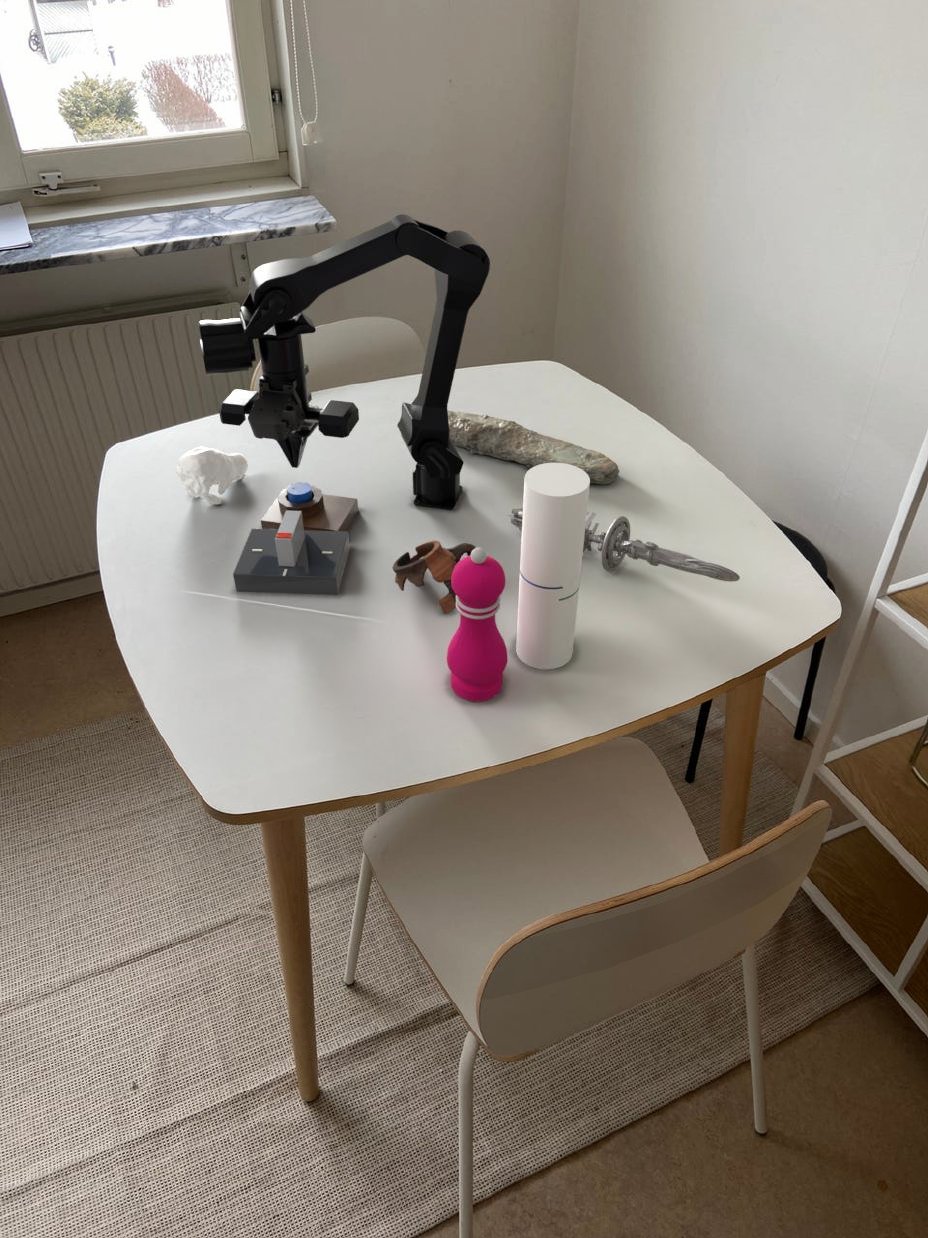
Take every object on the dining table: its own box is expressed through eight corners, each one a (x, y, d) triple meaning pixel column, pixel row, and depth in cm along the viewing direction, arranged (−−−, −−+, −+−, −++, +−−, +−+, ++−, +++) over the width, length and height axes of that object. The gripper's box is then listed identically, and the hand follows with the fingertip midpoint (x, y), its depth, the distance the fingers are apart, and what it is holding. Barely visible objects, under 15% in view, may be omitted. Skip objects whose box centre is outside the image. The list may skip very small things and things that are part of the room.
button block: (358, 510, 142) (356, 488, 139) (339, 543, 135) (336, 520, 132) (285, 501, 144) (281, 478, 141) (262, 532, 137) (258, 509, 135)
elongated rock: (600, 504, 146) (625, 479, 153) (606, 475, 142) (631, 450, 149) (415, 437, 158) (445, 417, 165) (416, 409, 155) (447, 389, 162)
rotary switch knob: (289, 537, 131) (285, 508, 128) (305, 537, 131) (301, 509, 128) (278, 566, 126) (274, 537, 122) (294, 566, 125) (290, 538, 122)
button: (316, 493, 139) (314, 483, 138) (307, 506, 136) (306, 495, 135) (293, 490, 139) (292, 480, 138) (284, 503, 137) (283, 493, 136)
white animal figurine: (168, 450, 138) (226, 425, 147) (176, 501, 143) (231, 474, 152) (199, 462, 136) (256, 436, 144) (205, 513, 140) (260, 485, 149)
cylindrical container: (512, 633, 119) (520, 463, 104) (567, 630, 120) (583, 461, 104) (520, 671, 114) (529, 497, 98) (577, 667, 114) (595, 494, 98)
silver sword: (725, 583, 115) (750, 535, 118) (491, 519, 132) (517, 478, 135) (729, 618, 121) (752, 571, 124) (505, 552, 139) (530, 513, 141)
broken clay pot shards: (430, 628, 121) (401, 576, 118) (404, 616, 129) (376, 567, 126) (502, 579, 124) (475, 526, 121) (472, 571, 132) (446, 521, 130)
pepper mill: (500, 709, 109) (506, 572, 96) (441, 700, 110) (438, 564, 97) (510, 668, 114) (517, 534, 102) (453, 660, 115) (453, 526, 103)
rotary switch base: (350, 548, 134) (348, 529, 132) (337, 595, 125) (335, 577, 123) (254, 544, 135) (251, 526, 133) (235, 592, 126) (232, 573, 124)
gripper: (192, 383, 120) (212, 486, 130) (328, 398, 117) (338, 503, 127) (228, 348, 128) (244, 448, 138) (356, 362, 125) (363, 463, 135)
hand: (295, 466), depth 134 cm, fingers closed
